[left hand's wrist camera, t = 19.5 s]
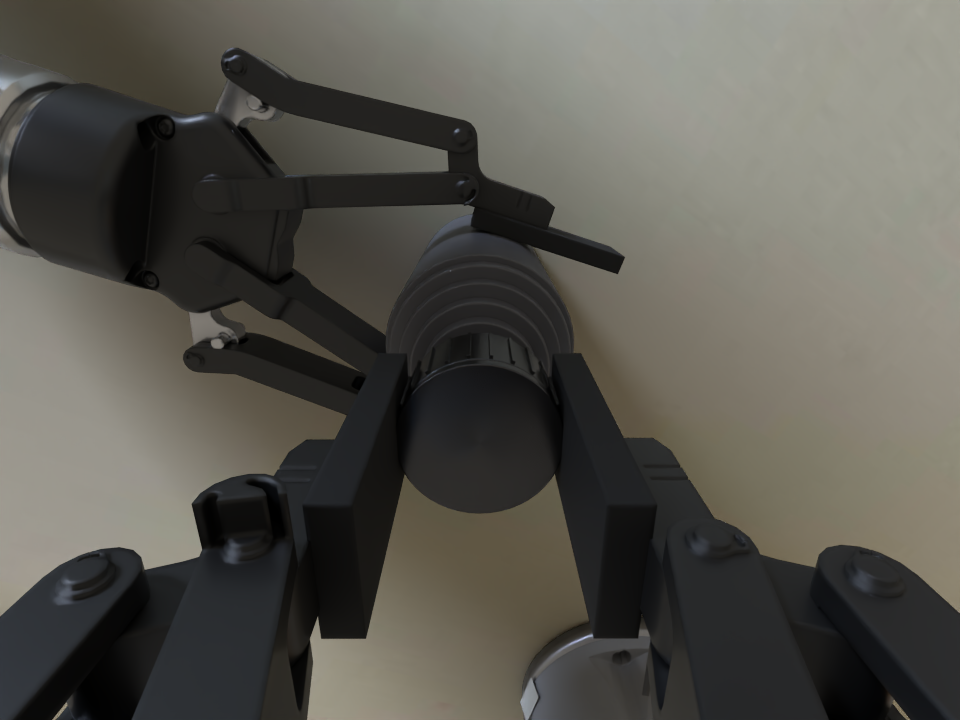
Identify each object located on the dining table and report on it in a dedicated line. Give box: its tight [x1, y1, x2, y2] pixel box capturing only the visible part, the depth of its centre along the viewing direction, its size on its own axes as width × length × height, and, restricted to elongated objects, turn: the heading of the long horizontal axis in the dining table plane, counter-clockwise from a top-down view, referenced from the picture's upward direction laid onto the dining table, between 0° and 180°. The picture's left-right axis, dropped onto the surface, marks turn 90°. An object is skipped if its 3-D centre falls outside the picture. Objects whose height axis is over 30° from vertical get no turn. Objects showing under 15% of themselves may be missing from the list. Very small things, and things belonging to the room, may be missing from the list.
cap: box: [396, 332, 563, 513], centre depth 13 cm, size 4×4×2 cm
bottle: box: [386, 214, 574, 377], centre depth 22 cm, size 6×6×18 cm
